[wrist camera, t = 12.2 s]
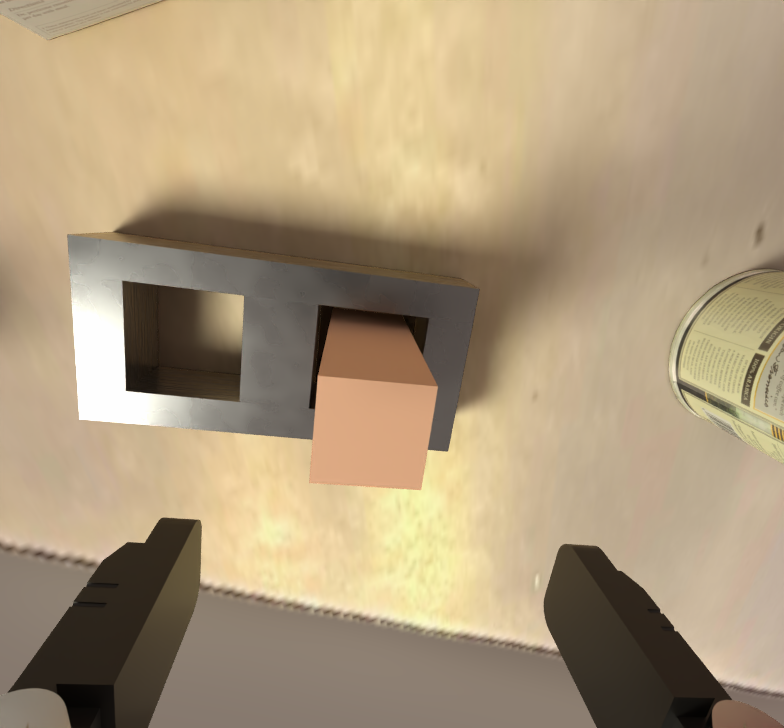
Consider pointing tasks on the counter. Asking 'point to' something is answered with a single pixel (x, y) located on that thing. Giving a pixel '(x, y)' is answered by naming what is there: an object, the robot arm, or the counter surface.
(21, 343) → the counter surface
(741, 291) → the coffee can
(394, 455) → the square peg
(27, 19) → the supplement box
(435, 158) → the counter surface
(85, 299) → the block with square holes
